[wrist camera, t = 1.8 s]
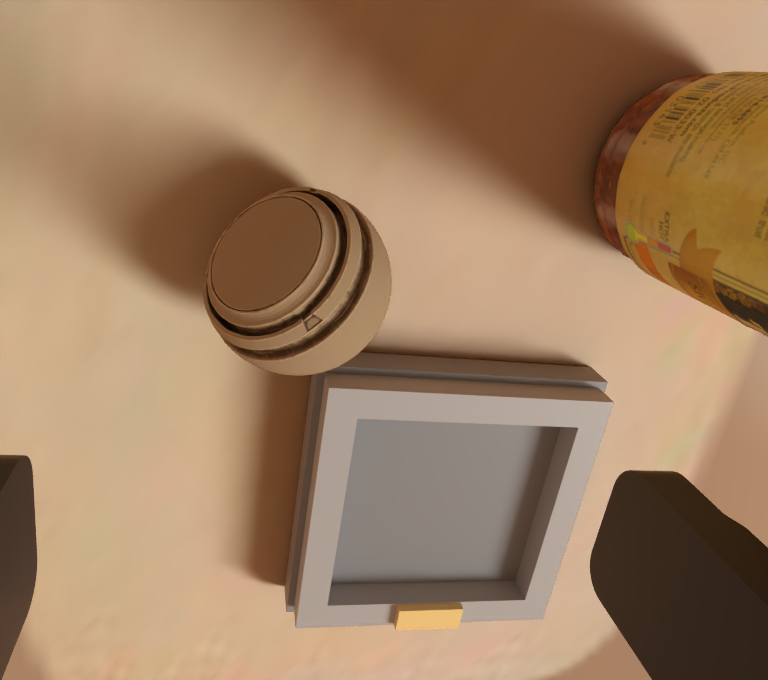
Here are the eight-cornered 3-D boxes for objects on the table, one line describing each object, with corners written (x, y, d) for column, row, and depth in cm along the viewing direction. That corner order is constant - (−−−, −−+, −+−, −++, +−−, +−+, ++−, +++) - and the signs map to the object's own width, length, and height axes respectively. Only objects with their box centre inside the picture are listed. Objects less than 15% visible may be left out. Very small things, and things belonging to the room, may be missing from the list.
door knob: (384, 182, 19) (425, 222, 15) (362, 336, 21) (393, 412, 17) (211, 163, 18) (199, 200, 14) (205, 326, 20) (192, 406, 15)
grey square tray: (314, 349, 21) (322, 384, 19) (590, 366, 23) (627, 400, 21) (284, 587, 25) (288, 640, 22) (525, 581, 27) (550, 630, 25)
